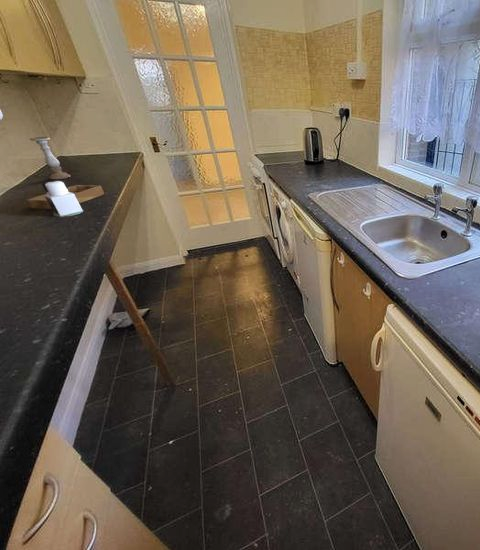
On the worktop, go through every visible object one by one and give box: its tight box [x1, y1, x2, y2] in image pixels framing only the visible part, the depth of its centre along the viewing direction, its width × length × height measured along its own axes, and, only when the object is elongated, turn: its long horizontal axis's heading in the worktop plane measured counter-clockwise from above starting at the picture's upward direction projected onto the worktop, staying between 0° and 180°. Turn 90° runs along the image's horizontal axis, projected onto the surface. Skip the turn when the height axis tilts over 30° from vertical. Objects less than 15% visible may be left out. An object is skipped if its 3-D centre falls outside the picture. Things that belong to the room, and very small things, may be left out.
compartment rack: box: [25, 184, 105, 210], centre depth 128 cm, size 12×23×4 cm, turn 178°
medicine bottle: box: [42, 179, 84, 216], centre depth 114 cm, size 7×7×12 cm
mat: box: [52, 208, 84, 218], centre depth 117 cm, size 9×9×1 cm
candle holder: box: [29, 136, 72, 180], centre depth 158 cm, size 9×9×20 cm
